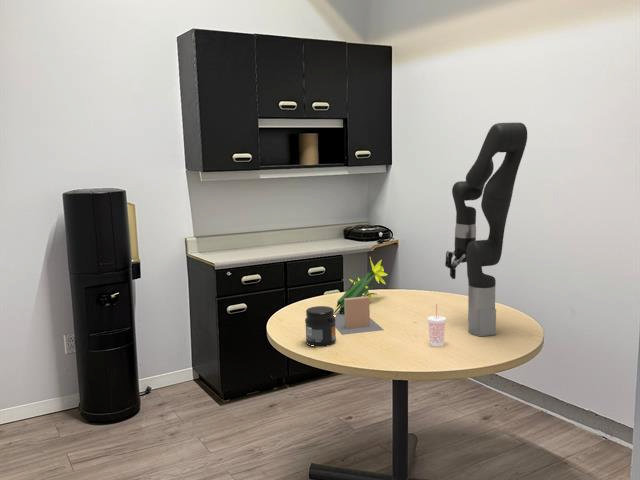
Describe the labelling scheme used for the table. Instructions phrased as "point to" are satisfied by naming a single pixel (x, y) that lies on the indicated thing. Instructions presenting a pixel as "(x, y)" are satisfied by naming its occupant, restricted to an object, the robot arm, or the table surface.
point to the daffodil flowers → (362, 285)
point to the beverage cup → (436, 329)
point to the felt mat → (341, 328)
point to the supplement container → (320, 326)
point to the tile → (357, 312)
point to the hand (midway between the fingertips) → (463, 277)
